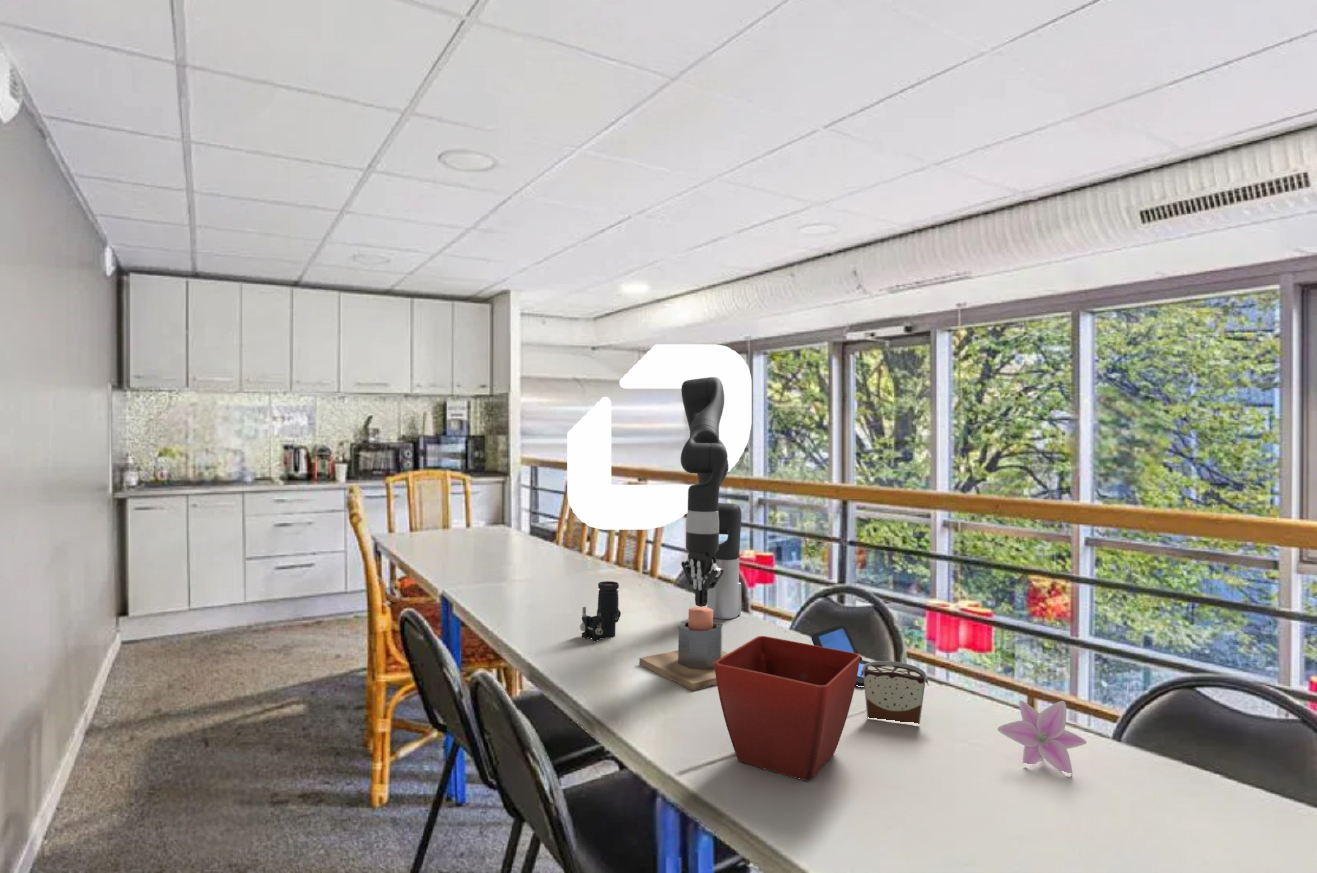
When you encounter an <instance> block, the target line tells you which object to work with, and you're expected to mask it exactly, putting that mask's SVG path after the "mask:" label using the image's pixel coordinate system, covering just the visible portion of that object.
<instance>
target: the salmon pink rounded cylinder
mask: <svg viewBox="0 0 1317 873" xmlns="http://www.w3.org/2000/svg"><path fill="white" fill-rule="evenodd" d="M687 617H688V620H687V621H688V628H691V629H698V630H709V629H713V621H714V618H713V610H712V609H710V608H707V607H706V606H703V607H700V606H695V607H690V608H688V616H687Z"/></svg>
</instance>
